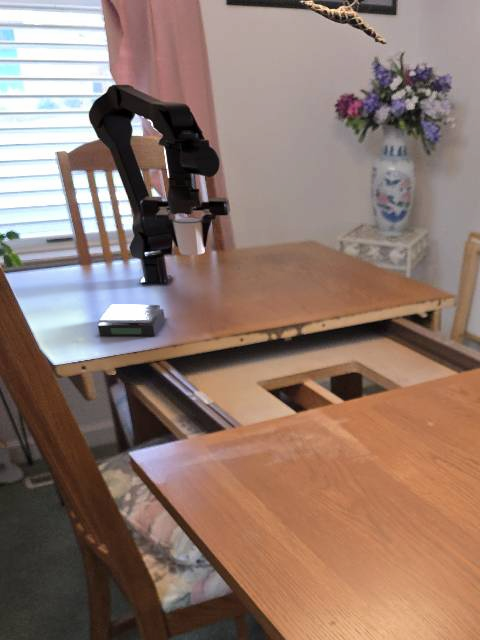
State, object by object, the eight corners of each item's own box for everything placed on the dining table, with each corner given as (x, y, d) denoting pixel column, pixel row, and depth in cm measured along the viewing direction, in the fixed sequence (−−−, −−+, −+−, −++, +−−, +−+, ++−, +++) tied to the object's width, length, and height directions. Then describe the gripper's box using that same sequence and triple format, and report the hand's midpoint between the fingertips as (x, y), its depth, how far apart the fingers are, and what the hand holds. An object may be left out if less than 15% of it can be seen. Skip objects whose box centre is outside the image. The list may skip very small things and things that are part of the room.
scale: (113, 318, 154) (110, 306, 152) (164, 319, 155) (163, 307, 153) (99, 336, 144) (96, 324, 143) (154, 336, 145) (152, 324, 144)
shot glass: (211, 249, 166) (207, 217, 162) (202, 256, 161) (197, 223, 157) (182, 247, 167) (178, 215, 162) (172, 254, 161) (167, 222, 157)
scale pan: (112, 307, 152) (111, 304, 151) (160, 307, 153) (159, 305, 152) (100, 322, 144) (99, 319, 143) (150, 322, 145) (150, 320, 144)
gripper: (129, 176, 146) (142, 255, 155) (221, 178, 148) (229, 255, 157) (139, 168, 155) (151, 243, 164) (226, 169, 157) (233, 243, 166)
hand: (191, 246), depth 163 cm, fingers closed on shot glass, 6 cm apart
